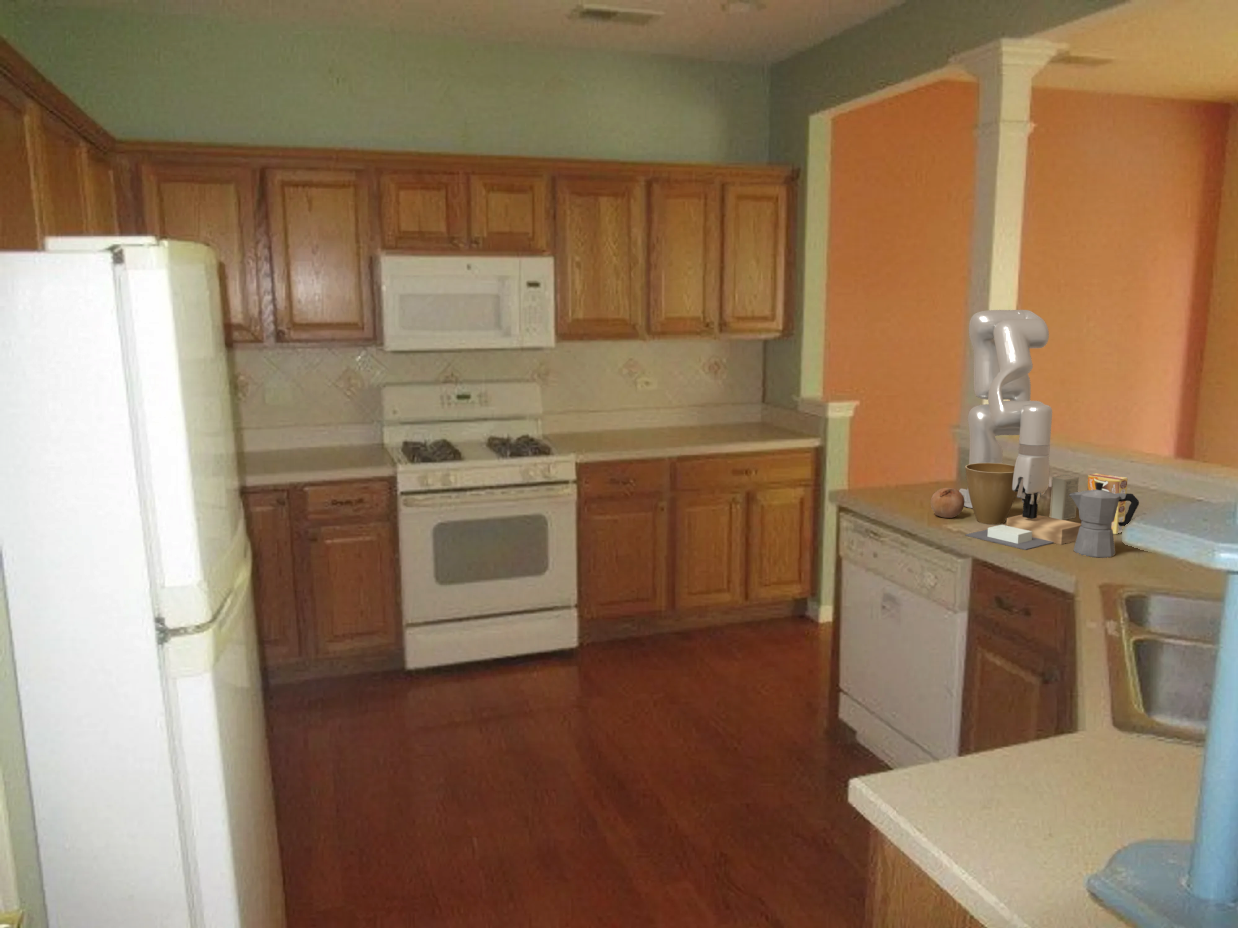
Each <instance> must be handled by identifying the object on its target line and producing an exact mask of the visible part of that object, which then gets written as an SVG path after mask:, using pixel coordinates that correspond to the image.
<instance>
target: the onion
mask: <svg viewBox="0 0 1238 928" xmlns="http://www.w3.org/2000/svg"><path fill="white" fill-rule="evenodd" d="M964 502H965V501H964V496H963V495H962V494H961V493H960V492H959V490H958V489H956V488H952V487H944V488H939V489H937V490H936V491H935V492H934V493H933V494H932V497H931V498H930V507H931V510H932V511H933V514H934V515H936V516H937V517H940V518H944V519H953V518H955V517H956V516H958V515H959V514H961V512H962V511H963V509H964V507H965V506H964Z"/></svg>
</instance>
